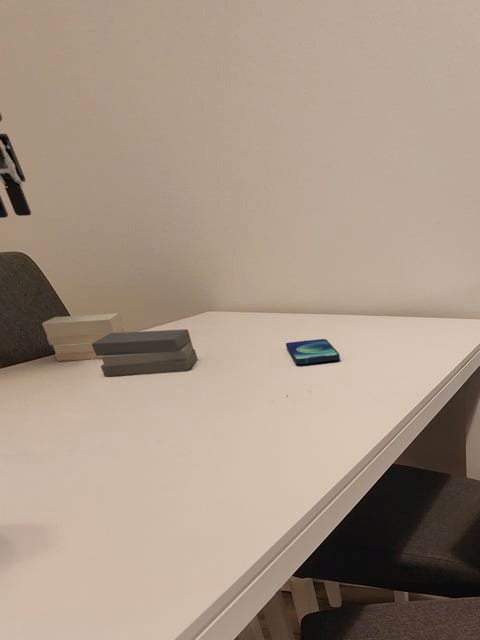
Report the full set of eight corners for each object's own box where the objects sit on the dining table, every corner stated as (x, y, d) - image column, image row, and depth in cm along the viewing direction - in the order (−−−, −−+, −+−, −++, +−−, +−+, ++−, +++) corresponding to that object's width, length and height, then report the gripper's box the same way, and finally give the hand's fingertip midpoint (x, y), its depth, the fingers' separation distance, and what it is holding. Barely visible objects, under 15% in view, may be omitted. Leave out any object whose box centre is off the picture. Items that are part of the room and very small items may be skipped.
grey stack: (101, 377, 95) (88, 345, 92) (118, 363, 102) (107, 333, 99) (189, 371, 97) (179, 339, 94) (200, 358, 104) (191, 328, 101)
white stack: (55, 362, 104) (44, 337, 102) (68, 353, 109) (59, 330, 107) (124, 357, 106) (115, 333, 103) (134, 349, 111) (126, 326, 109)
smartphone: (326, 338, 110) (340, 354, 99) (326, 343, 110) (341, 360, 99) (284, 342, 108) (294, 359, 97) (286, 348, 108) (296, 365, 97)
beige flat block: (47, 337, 102) (41, 323, 101) (60, 330, 107) (54, 317, 105) (114, 333, 104) (109, 319, 102) (124, 326, 108) (119, 313, 107)
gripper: (-47, 84, 89) (7, 215, 99) (-103, 68, 78) (-36, 218, 88) (7, 84, 90) (55, 214, 100) (-41, 69, 79) (18, 217, 89)
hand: (12, 216), depth 94 cm, fingers open, 8 cm apart
